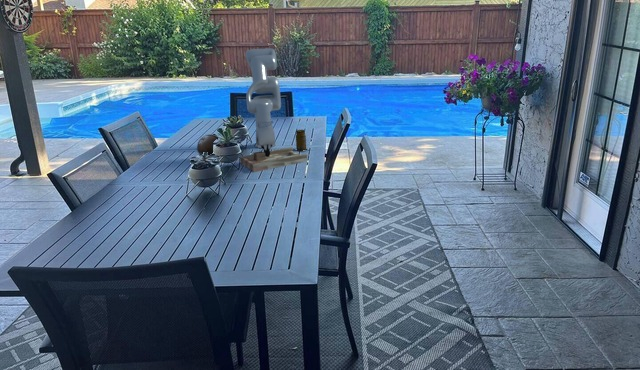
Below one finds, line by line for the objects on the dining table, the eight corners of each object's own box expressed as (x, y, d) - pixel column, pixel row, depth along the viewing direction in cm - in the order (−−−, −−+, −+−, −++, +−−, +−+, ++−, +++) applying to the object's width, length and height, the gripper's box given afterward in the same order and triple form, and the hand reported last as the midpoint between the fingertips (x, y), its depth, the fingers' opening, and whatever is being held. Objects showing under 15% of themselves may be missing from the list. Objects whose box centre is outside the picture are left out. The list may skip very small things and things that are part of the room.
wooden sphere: (193, 162, 279) (189, 137, 274) (210, 155, 291) (207, 131, 286) (213, 164, 272) (210, 138, 267) (230, 157, 284) (227, 132, 279)
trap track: (240, 163, 271) (239, 156, 270) (291, 153, 286) (291, 147, 284) (253, 172, 255) (253, 164, 253) (307, 161, 269) (307, 154, 268)
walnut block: (254, 159, 270) (253, 152, 269) (262, 157, 273) (261, 151, 271) (257, 161, 266) (256, 154, 265) (265, 159, 269) (265, 152, 267)
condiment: (302, 147, 298) (301, 128, 294) (311, 150, 292) (310, 130, 288) (293, 150, 294) (291, 130, 290) (301, 152, 288) (300, 132, 284)
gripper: (273, 121, 272) (276, 152, 278) (249, 125, 265) (252, 157, 271) (279, 123, 266) (282, 155, 272) (254, 127, 259) (257, 160, 265)
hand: (267, 156), depth 271 cm, fingers closed
